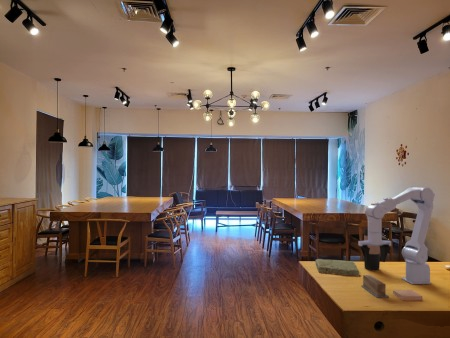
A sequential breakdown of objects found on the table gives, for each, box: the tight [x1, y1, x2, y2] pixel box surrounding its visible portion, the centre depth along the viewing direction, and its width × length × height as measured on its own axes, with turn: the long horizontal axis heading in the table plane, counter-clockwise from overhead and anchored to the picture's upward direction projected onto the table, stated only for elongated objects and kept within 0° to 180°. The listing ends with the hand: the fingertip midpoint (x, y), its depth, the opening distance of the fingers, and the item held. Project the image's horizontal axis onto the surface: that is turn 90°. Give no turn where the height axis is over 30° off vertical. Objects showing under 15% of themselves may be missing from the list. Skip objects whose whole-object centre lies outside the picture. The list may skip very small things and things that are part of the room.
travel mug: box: [363, 229, 381, 272], centre depth 171 cm, size 8×8×20 cm
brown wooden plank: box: [362, 274, 387, 296], centre depth 138 cm, size 4×12×4 cm, turn 3°
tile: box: [392, 289, 423, 301], centre depth 132 cm, size 8×2×7 cm
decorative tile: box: [315, 258, 360, 277], centre depth 169 cm, size 19×20×4 cm
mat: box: [361, 284, 389, 299], centre depth 138 cm, size 5×13×1 cm, turn 3°
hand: (374, 261), depth 147 cm, fingers open, 7 cm apart
